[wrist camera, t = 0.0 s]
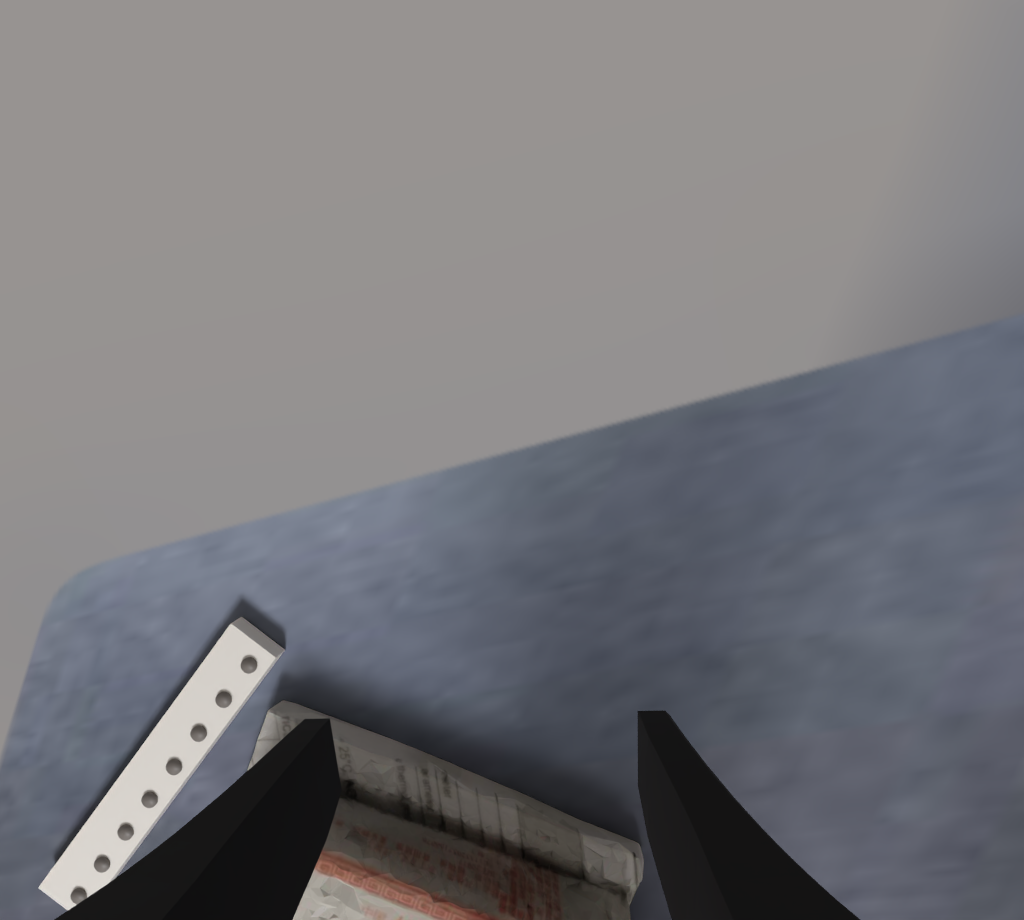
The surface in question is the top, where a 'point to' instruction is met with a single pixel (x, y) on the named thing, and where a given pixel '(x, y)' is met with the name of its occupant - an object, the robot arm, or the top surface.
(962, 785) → the top surface
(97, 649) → the top surface
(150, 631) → the top surface
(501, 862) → the packaged product
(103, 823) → the perforated board
